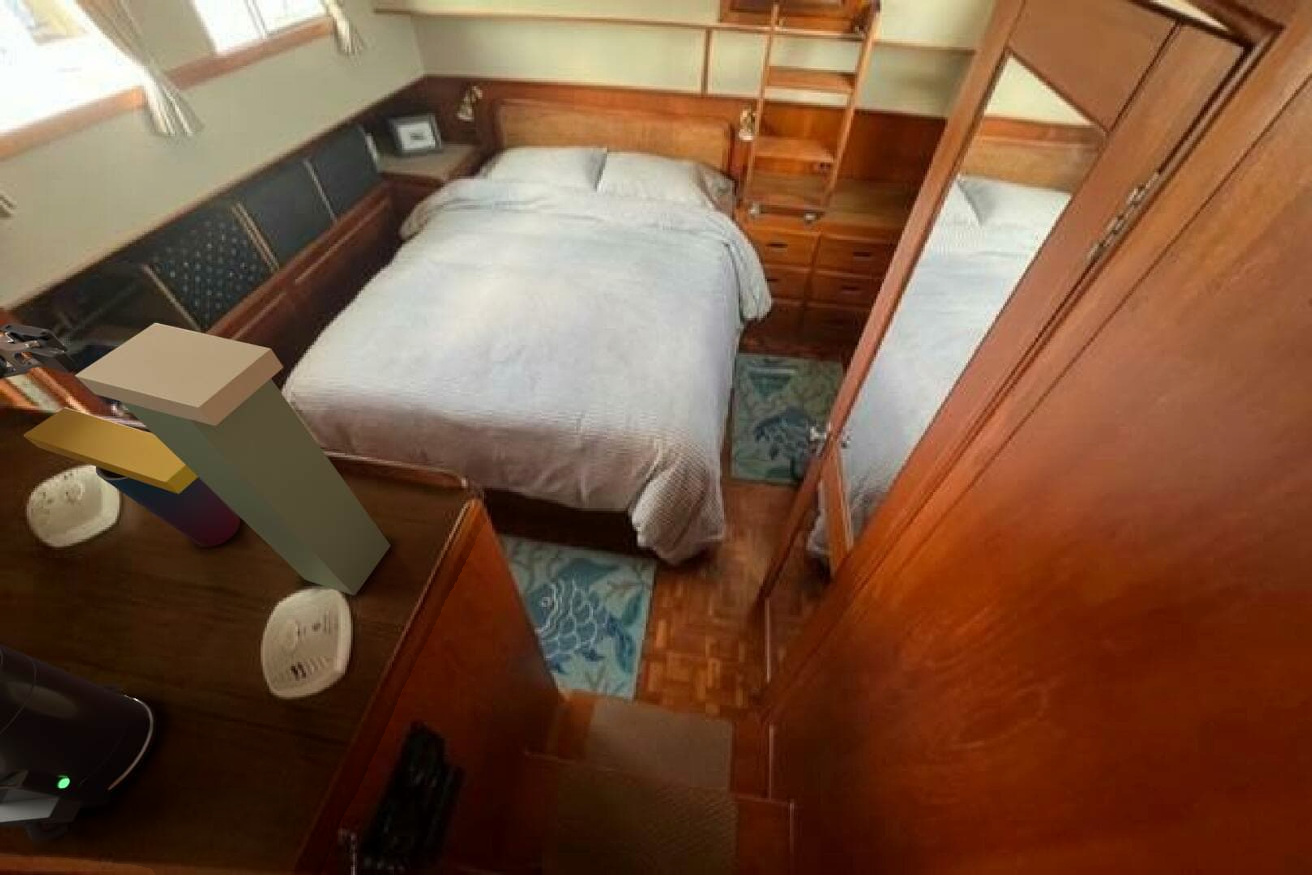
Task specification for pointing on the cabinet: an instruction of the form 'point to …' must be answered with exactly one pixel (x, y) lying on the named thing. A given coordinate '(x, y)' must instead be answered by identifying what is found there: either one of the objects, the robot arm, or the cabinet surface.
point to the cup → (182, 507)
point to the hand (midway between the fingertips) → (24, 391)
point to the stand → (244, 446)
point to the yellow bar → (112, 448)
